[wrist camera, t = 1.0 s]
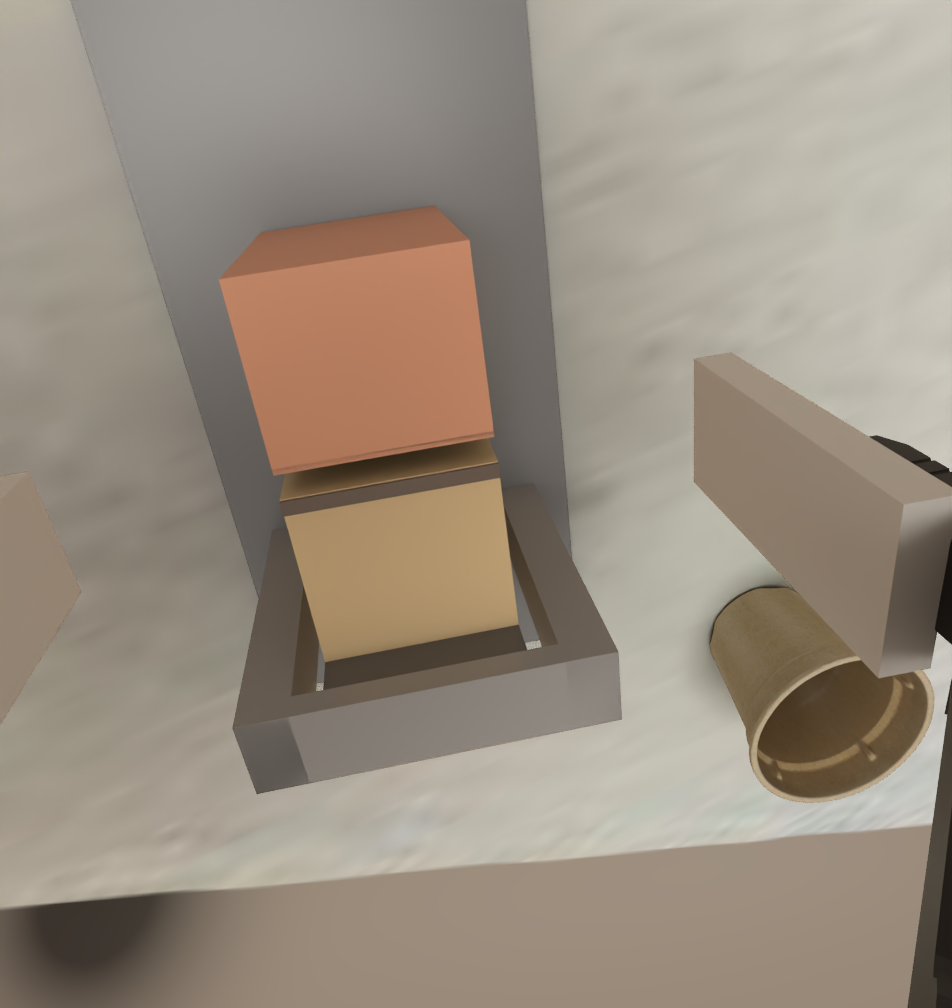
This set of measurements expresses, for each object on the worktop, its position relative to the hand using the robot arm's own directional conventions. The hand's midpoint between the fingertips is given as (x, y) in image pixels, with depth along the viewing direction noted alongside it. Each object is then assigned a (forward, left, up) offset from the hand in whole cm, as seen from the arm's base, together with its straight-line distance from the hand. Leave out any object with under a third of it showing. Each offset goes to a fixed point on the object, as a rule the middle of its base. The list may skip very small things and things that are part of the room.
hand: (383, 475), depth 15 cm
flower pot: (+19, -23, -20) cm, 36 cm away
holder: (0, -4, -20) cm, 20 cm away
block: (0, 0, -19) cm, 19 cm away
